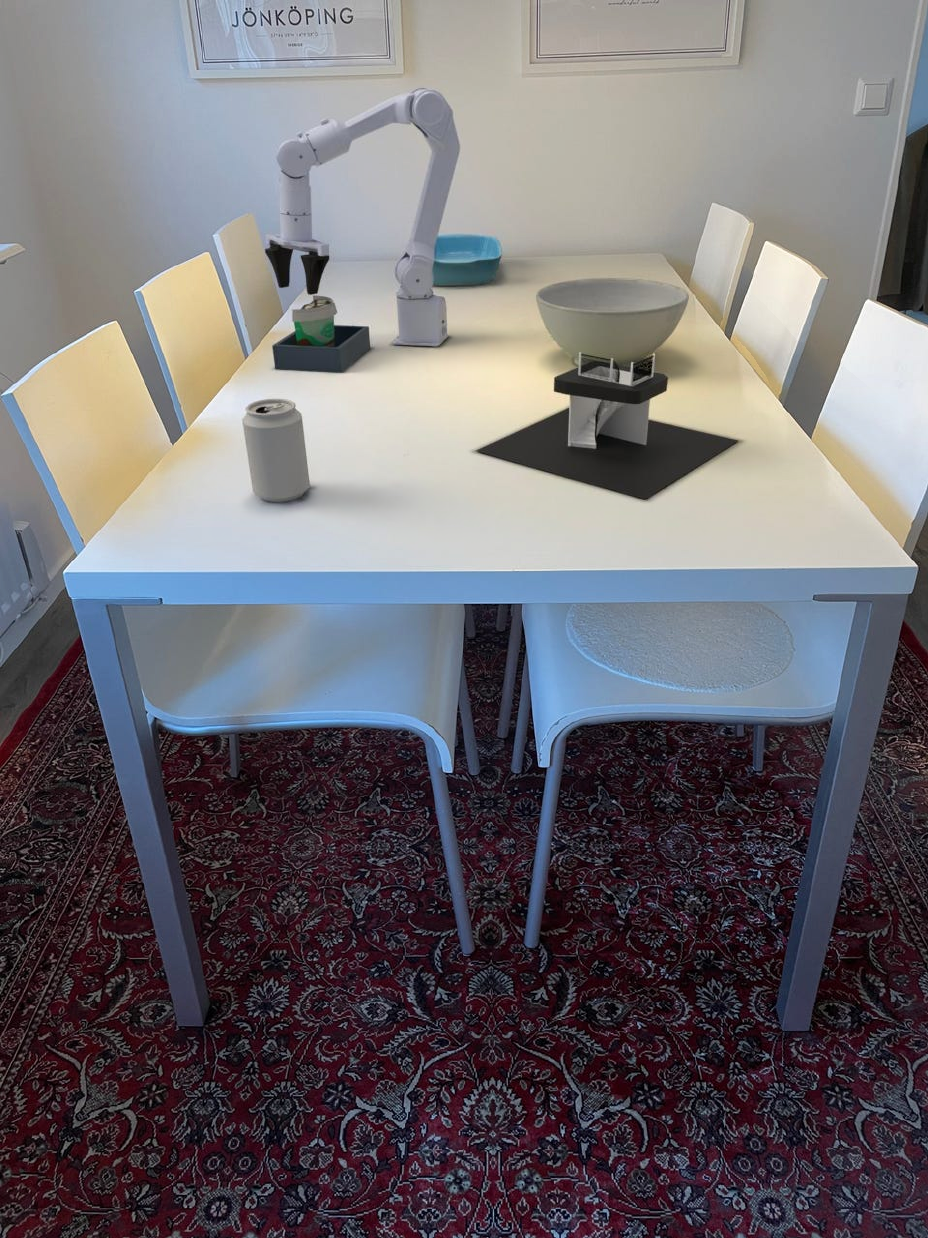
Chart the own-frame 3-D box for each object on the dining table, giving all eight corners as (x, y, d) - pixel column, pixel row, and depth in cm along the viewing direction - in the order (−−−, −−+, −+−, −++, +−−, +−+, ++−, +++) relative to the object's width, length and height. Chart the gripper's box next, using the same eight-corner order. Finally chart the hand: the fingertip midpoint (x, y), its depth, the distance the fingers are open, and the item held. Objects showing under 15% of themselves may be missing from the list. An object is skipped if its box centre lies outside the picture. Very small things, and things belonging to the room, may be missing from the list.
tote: (370, 348, 183) (368, 326, 181) (341, 372, 170) (339, 348, 168) (308, 345, 186) (305, 323, 184) (274, 368, 173) (271, 345, 171)
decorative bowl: (697, 349, 177) (704, 283, 171) (660, 390, 157) (667, 317, 151) (563, 336, 187) (565, 273, 181) (512, 374, 167) (512, 304, 160)
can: (256, 483, 127) (243, 396, 120) (312, 480, 127) (302, 393, 121) (250, 506, 120) (236, 415, 114) (309, 503, 121) (298, 412, 114)
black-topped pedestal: (475, 451, 135) (474, 358, 128) (578, 404, 152) (582, 320, 145) (645, 500, 119) (654, 397, 112) (738, 441, 136) (751, 349, 129)
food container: (329, 366, 172) (323, 310, 167) (297, 365, 173) (291, 309, 168) (349, 348, 182) (344, 295, 177) (319, 347, 184) (314, 294, 178)
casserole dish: (504, 289, 226) (504, 257, 222) (411, 291, 226) (410, 260, 223) (498, 259, 258) (498, 232, 254) (417, 261, 258) (416, 234, 254)
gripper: (251, 209, 172) (255, 286, 179) (309, 219, 165) (310, 299, 172) (279, 207, 177) (282, 282, 184) (336, 217, 170) (337, 294, 177)
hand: (298, 290), depth 178 cm, fingers open, 7 cm apart
